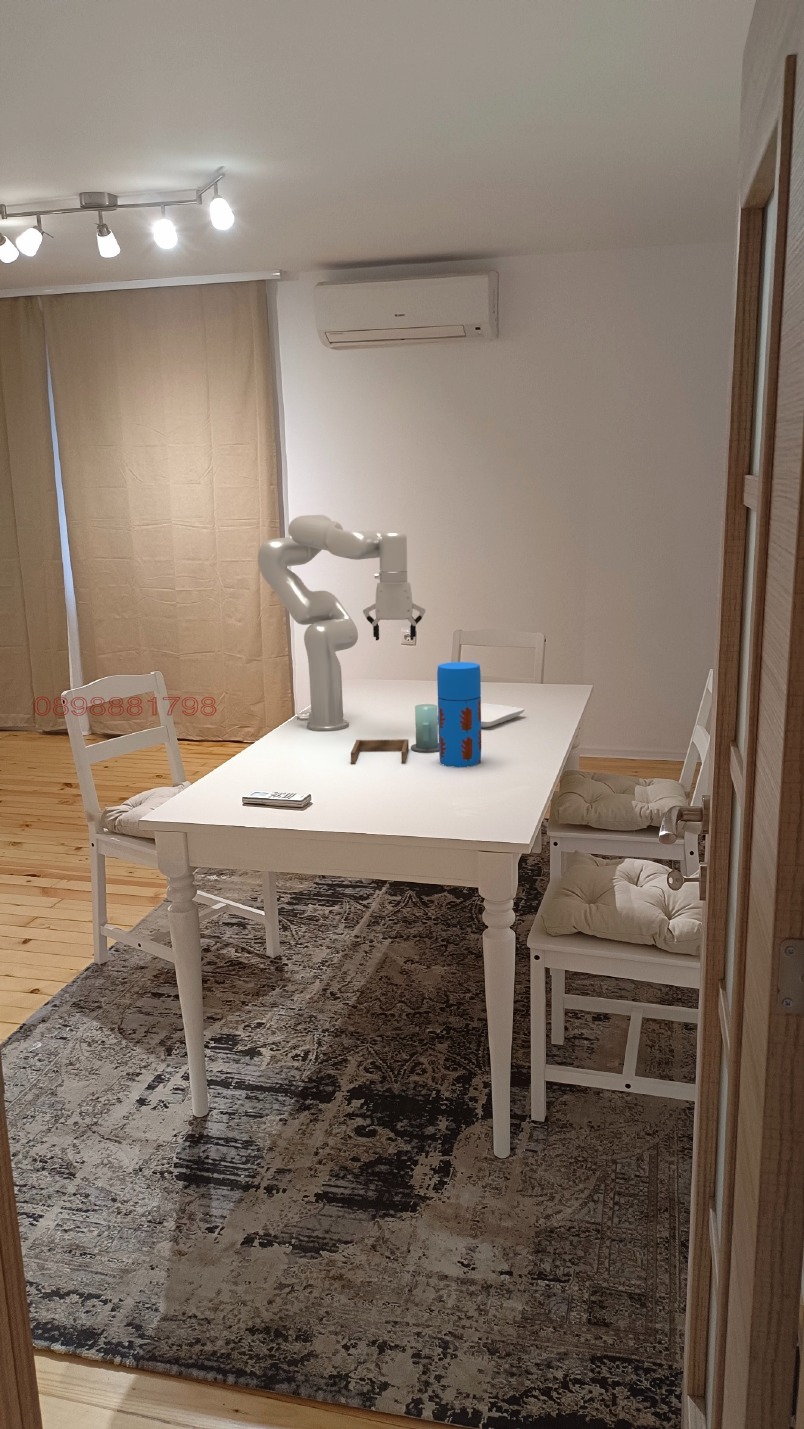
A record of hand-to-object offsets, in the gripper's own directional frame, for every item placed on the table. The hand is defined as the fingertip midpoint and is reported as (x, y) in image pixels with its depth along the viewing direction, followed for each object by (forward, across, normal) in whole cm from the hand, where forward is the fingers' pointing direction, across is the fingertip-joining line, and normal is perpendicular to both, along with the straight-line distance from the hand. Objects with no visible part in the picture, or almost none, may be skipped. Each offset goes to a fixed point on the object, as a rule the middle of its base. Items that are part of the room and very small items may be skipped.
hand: (394, 639), depth 286 cm
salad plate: (+28, +23, +21) cm, 42 cm away
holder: (+28, -2, -22) cm, 36 cm away
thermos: (+28, +18, -28) cm, 43 cm away
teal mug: (+27, +9, -15) cm, 32 cm away
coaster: (+28, +9, -14) cm, 32 cm away
